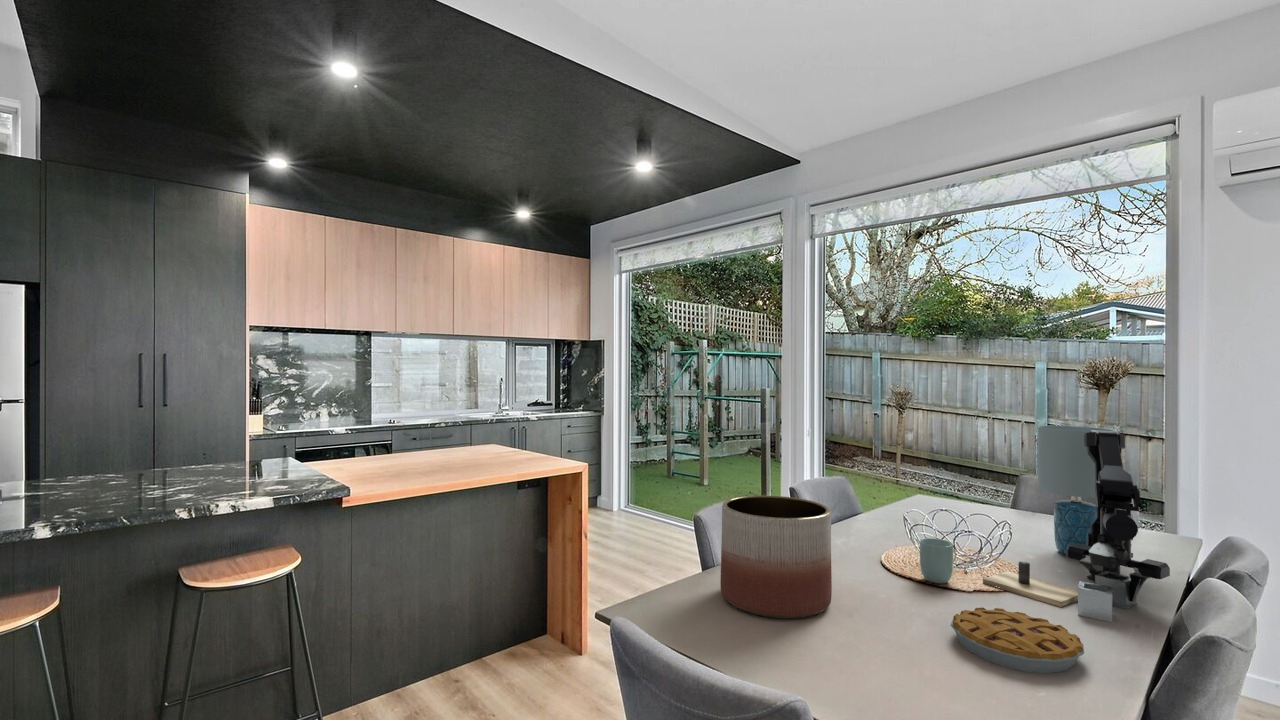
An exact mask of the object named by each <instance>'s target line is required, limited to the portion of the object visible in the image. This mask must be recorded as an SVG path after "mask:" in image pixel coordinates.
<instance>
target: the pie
mask: <svg viewBox="0 0 1280 720" xmlns="http://www.w3.org/2000/svg"><path fill="white" fill-rule="evenodd" d="M950 627H951V628H952V629H953V630H954V632H955V634H956V637H957V639H958V642H960V643H961V645H962V646H963V647H964V648H966V650H969V651H970V652H971V653H973V654H975V655H976V656H979V657H980V658H981V659H984V660H986V661H989V662H992V663H995V664H997V665H1000V666H1002V667H1005V668H1009V669H1014V670H1017V671H1021V672H1024V673H1037V674H1051V673H1059V672H1065V671H1067V670H1068V669H1070V668H1071V667H1073V666H1074V665H1075V664H1076V662H1077V660H1078V659H1079V658H1080V657H1081V656H1083V655H1084V654H1085V647H1084V643H1083V642H1082V641H1081V638H1080V637H1079V636H1078V635H1077V634H1075V633H1071V632H1069V630H1068V629H1067V628H1065V627H1064V626H1062V625H1061V624H1056V625H1055V624H1054V623H1053V624H1052V623H1050V622H1049V619H1045V618H1042V617H1034V616H1033V617H1032V616H1030V615H1028V614H1027V613H1025V612H1019V611H1015V612H1014V611H1007V610H1006V609H1004V608H999V607H998V608H997V607H996V608H994V609H986V608H985V607H976V608H974V610H967V609H964V610H961V611H960V613H959V614H958V613H955V614H954V615H953V619H952V621H951V623H950Z"/></svg>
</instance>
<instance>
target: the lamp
mask: <svg viewBox="0 0 1280 720" xmlns="http://www.w3.org/2000/svg"><path fill="white" fill-rule="evenodd" d="M1090 430H1096V431H1116V432H1118V430H1117V429H1112V428H1106V427H1105V428H1103V427H1092V426H1077V425H1074V426H1073V425H1038V426H1037V489H1038V490H1040V491H1043V492H1047V493H1050V494H1051V493H1052V494H1057V495H1061V496H1067V497H1070V499H1060V500H1059V499H1058V500H1055V501H1054V504H1053V530H1054V542H1055V544H1054V545H1055V546H1056V547H1055V548H1056V549H1057V552H1059V553H1061V554H1062V555H1064V556H1066V550H1067V548H1068V547H1069V546H1071V545H1075V544H1082V545H1086V539H1087V532H1089V533H1090V526H1091V525H1092V524H1093V522H1094V521H1095V520H1096V518H1097V510H1096V503H1095V504H1094V503H1091V502H1086V501H1083V500H1082V498H1089V499H1096V496H1095V481H1096V480H1095V463H1094V462H1093V460H1092V459H1091V458H1090V456H1089V455H1088V450H1087V447H1085V445H1084V435H1085V433H1090Z"/></svg>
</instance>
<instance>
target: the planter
mask: <svg viewBox="0 0 1280 720" xmlns="http://www.w3.org/2000/svg"><path fill="white" fill-rule="evenodd" d="M720 544H721V547H720V548H721V549H720V551H721V552H720V593H721V595H722V597H723V598H724V599H725V601H727V602H728V603H729V604H730V605H732V606H734V607H736V608H738V609H740V610H741V611H744V612H747V613H750V614H753V615H757V616H762V617H765V618H766V617H767V618H775V619H799V618H800V619H801V618H807V617H811V616H815V615H817V614H820V613H821V612H823V611H825V610H826V609H827V608H829V607H830V605H831V603H832V592H833V591H832V590H833V589H832V588H833V587H832V584H833V583H832V579H833V578H832V510H831V508H829V506H827V505H826V504H823V503H821V502H816V501H813V500H810V499H803V498H798V497H794V496H793V497H791V496H782V495H781V496H780V495H745V496H738V497H737V496H736V497H733V498H729V499H726V500H725V501H723V503H722V506H721V543H720Z"/></svg>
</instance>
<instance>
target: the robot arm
mask: <svg viewBox="0 0 1280 720" xmlns="http://www.w3.org/2000/svg"><path fill="white" fill-rule="evenodd" d="M1084 445H1085V447H1087V450H1088V455H1089V456H1090V458H1091V459H1092V460H1093V462H1094V463H1095V480H1096V481H1095V496H1096V498H1095V505H1096V510H1097V518H1096V520H1095V521H1094V522H1093V524H1092V525H1091V526H1090V533H1089V532H1087V539H1086V545H1082V544H1075V545H1071V546H1069V547H1068V548H1067V550H1066V555H1065V556H1066V558H1067V559H1072V560H1074V561H1075V560H1076V561H1079V562H1078V563H1079V564H1080V565H1083V566H1084V567H1085V568H1086V569H1087V570H1088V572H1089V574H1090V575H1087V576H1086V578H1087V579H1088V580H1092V581H1093V584H1095V575H1096V574H1099V573H1102V572H1105V571H1109V572H1113V573H1117V574H1121V566H1122V567H1127V568H1129V569H1133V572H1131V573H1129V575H1128V576H1129V577H1130V578H1131V586H1130V601H1131V602H1133V601H1134V600H1135V598H1136V596H1137V597H1138V594H1139V592H1140V590H1141V588H1142V586H1143V585H1144V584H1145V582H1146V581H1147V579H1154V580H1155V579H1156V580H1162V579H1164V578H1167V577H1170V576H1171V574H1170V573H1171V568H1170V566H1169V565H1168V563H1166V562H1163V561H1158V560H1153V559H1149V558H1147V559H1144V560H1142V561H1139V560H1134V559H1133V558H1134V553H1133V552H1132V541H1134V538H1135V537H1136V536H1137V534H1138V532H1139V528H1138V524H1137V523H1136V521H1135V520H1134V519H1133V517H1132V512H1140V508H1142V500H1141V499H1142V498H1141V491H1140V489H1139V488H1138V486H1137V483H1136V484H1135V483H1133V477H1132V474H1130V473H1129V472H1127V471H1126V470H1124V469H1125V468H1124V466H1123V465H1124V463H1123V458H1122V450H1124V449H1126V434H1124V433H1120V432H1118V431H1117V432H1116V431H1096V430H1090V433H1085V435H1084ZM1131 511H1132V512H1131Z"/></svg>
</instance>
